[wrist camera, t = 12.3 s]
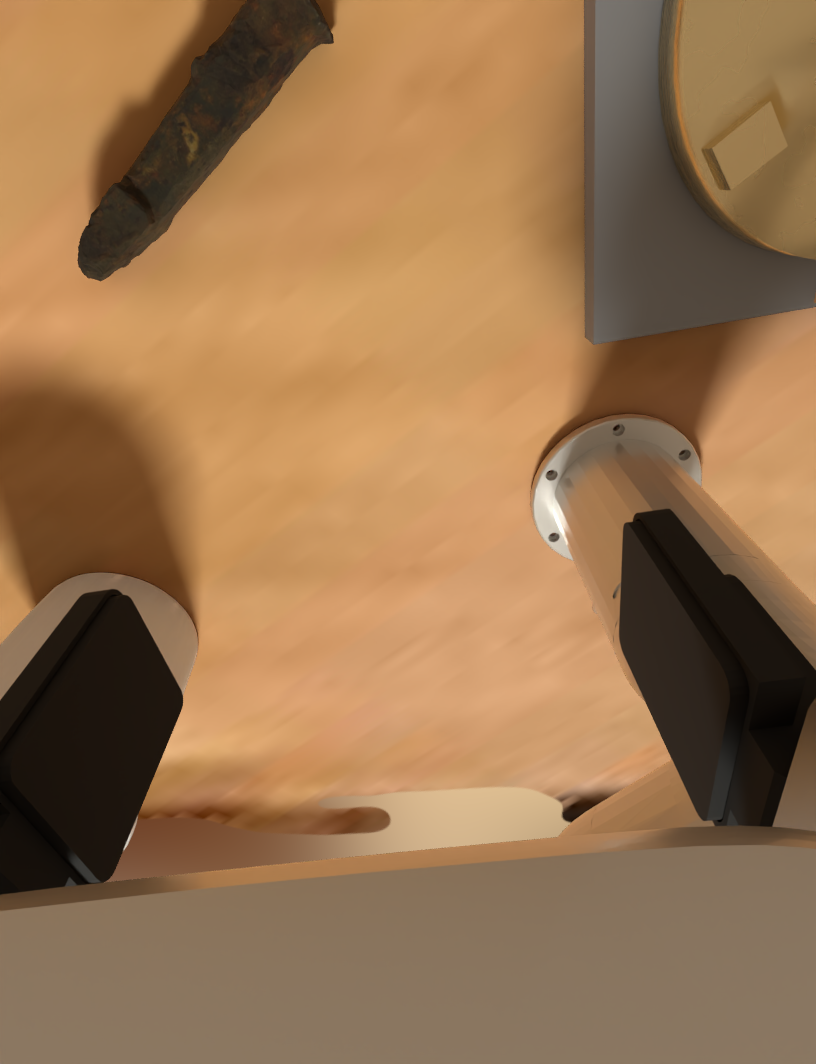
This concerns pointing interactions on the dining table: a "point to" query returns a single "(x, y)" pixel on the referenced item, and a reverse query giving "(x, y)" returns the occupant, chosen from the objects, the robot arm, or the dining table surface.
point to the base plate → (657, 204)
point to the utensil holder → (152, 603)
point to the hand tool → (201, 127)
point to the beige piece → (744, 114)
